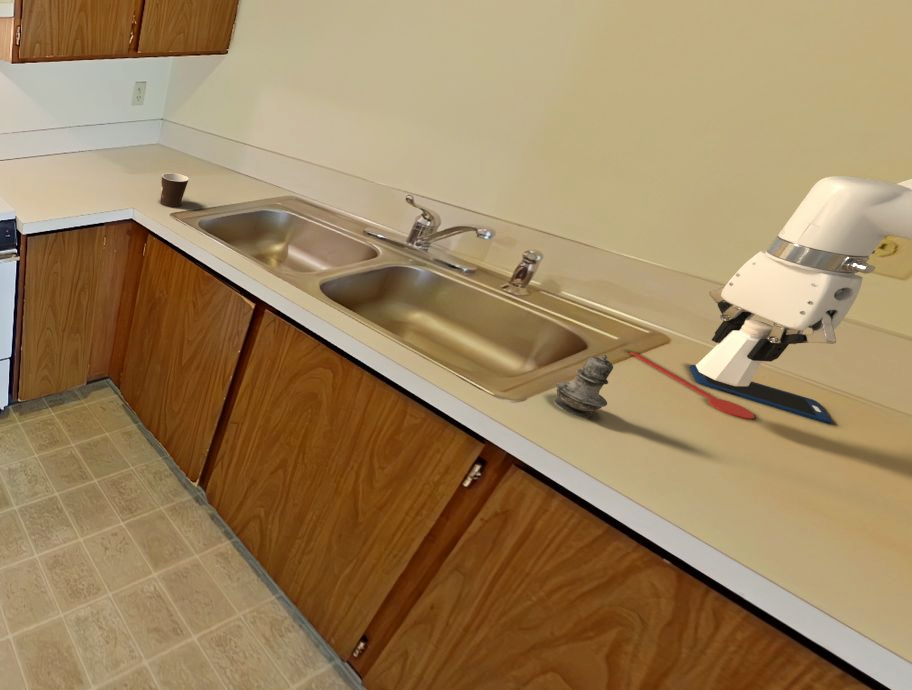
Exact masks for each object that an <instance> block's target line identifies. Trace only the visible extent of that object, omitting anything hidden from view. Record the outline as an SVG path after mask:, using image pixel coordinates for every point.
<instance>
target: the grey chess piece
mask: <svg viewBox="0 0 912 690" xmlns="http://www.w3.org/2000/svg"><path fill="white" fill-rule="evenodd" d="M607 359H608V356H607V355H606V354H603V355H601V357H599V356H590V357H588V358H587V360H586V361H585V363H584V364H583V366H582V367H581V368H579V369H577V370H575V371H576V376H575V377H574V379H573V380H572V381H571V382H569V381H559V382H557V383H556V384H555V387H556V395H557V397H555V398H554V399H553V400H552V401H553V403H554V404H555V406H556V407H558V408H559V409H561V410H562V411H564V412H566V413H568V414H571V415H573V416H576V417H580V418H584V419H585V418H586V419H589V418H593V413H592V412H595V411H598V410H600V409H602V408H605V407H606V406H607V405H608V402H607V400H606V398H604V396H602V395H601V394H600V391H601V390H602V388H603V386H604V385H608V384H609V380H608V377H609V376H610V374H611V373H612V371H613V370H614V365H613V363H612V362H611V361H609V360H607Z"/></svg>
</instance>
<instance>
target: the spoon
mask: <svg viewBox="0 0 912 690" xmlns="http://www.w3.org/2000/svg"><path fill="white" fill-rule="evenodd" d="M629 354H630V355H632V356H633V357H635V358H637V359H639V360H641V361H642V362H644V363H646V364H647V365H650V366H651V367H653V368H654V369H656V370H658V371H660V372H662V373H663V374H665V375H666V376H669V377H671V378H672V379H673V380H676V381H677V382H679V383H681V384H682V385H684V386H686V387H688V388H689V389H691V390H693V391H695V392H697V393H698V394H699V395H701V396H703V397H705V398H707V399H709V400H708V404H709V405H711V406H712V407H713V408H715V409H716V410H719V411H721V412H723V413H725V414H727V415H730V416H733V417H736V418H739V419H744V420H753V419H754V418H755V415H754V413H752V412H751V411H750V410H749V409H747V408H746V407H743V406H741V405H740V404H737V403H734V402H732V401H729V400H725V399H720V398H717V397H715V396H713V395H711V394H710V393H708V392H707V391H704V390H703V389H701V388H699V387H697V386H696V385H694V384H692V383H690V382H689V381H687V380H685V379H683V378H681V377H680V376H678V375H677V374H674V373H672V372H671V371H670V370H667V369H665V368H664V367H662V366H660V365H659V364H657V363H655V362H653V361H652V360H650V359H648V358H647V357H644V356H642V355H641V354H639V353H637V352H629Z"/></svg>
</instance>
